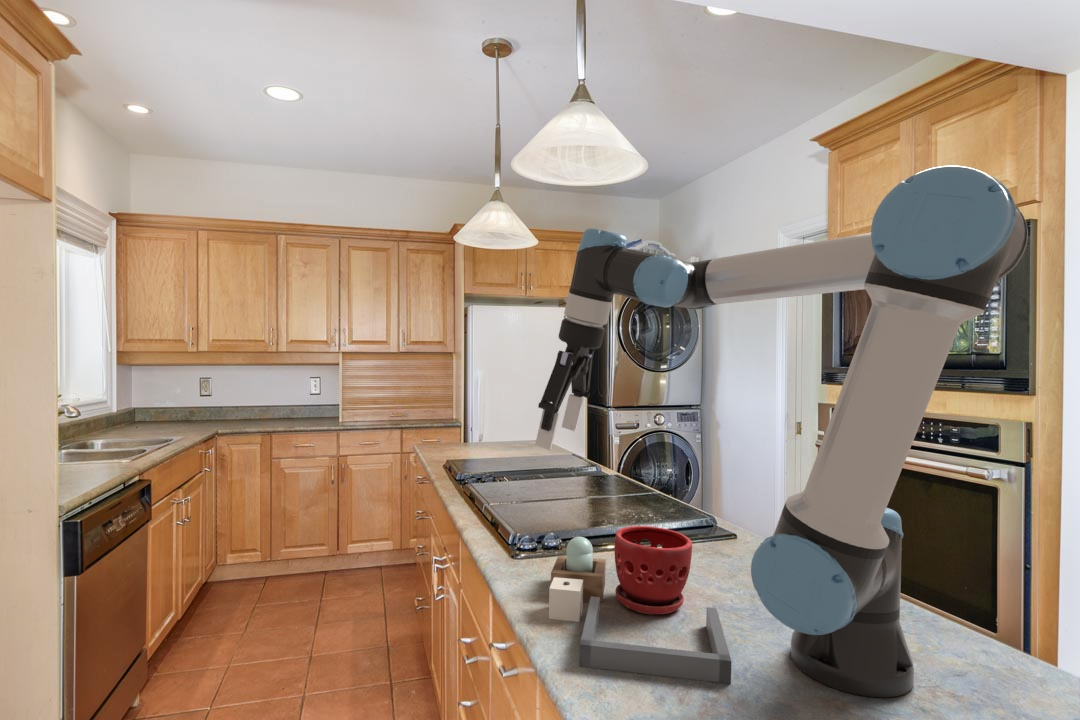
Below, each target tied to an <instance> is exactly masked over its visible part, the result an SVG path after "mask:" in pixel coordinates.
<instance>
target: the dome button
mask: <svg viewBox="0 0 1080 720" xmlns="http://www.w3.org/2000/svg"><path fill="white" fill-rule="evenodd" d="M593 548H594V547H593V545H592V543H591V541H590V540H589V539H588V538H586V537H583V536H575V537H573V538H572V539H570V540H569V541H568V543H567V545H566V552H565V554H566V555H565V556H566V571H576V572H588V573H592V569H593V558H594V555H593V554H594V549H593Z"/></svg>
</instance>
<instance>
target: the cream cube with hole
mask: <svg viewBox="0 0 1080 720" xmlns="http://www.w3.org/2000/svg"><path fill="white" fill-rule="evenodd" d="M548 591H549V592H548V593H549V594H548V619H550V620H556V621H557V620H559V621H568V622H578V623H580V621H581V617H582V613H583V608H584V604H583V603H584V601H583V580H581V579H569V578H558V577H554V579H553V581H552V583H551V582H550V586H549V589H548Z"/></svg>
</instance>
